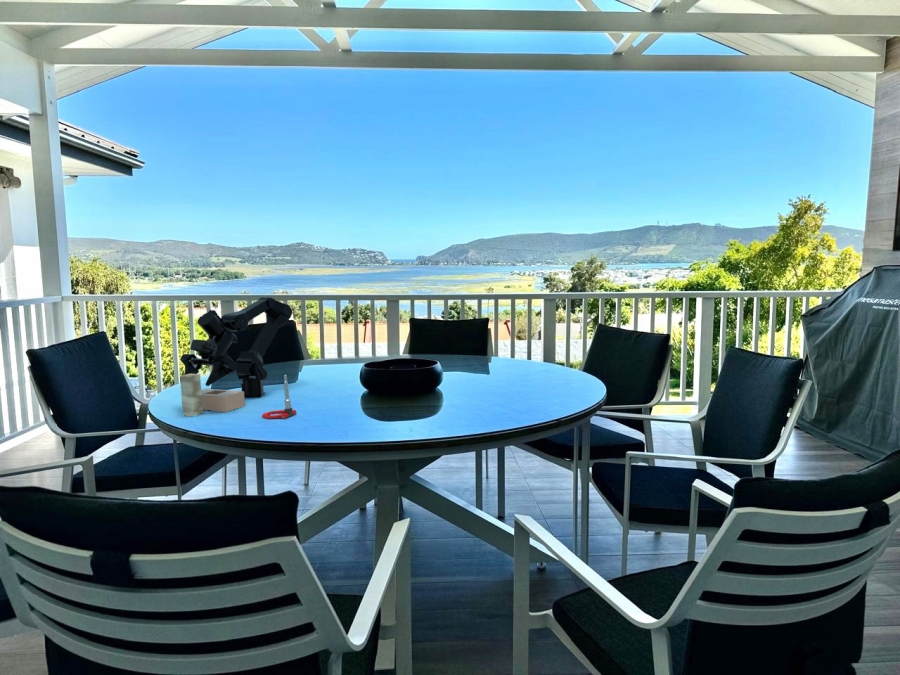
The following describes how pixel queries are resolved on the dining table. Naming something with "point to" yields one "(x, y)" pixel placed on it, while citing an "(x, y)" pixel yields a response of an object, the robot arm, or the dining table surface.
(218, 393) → the flat beige box
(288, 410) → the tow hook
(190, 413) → the birch bar
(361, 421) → the dining table surface
